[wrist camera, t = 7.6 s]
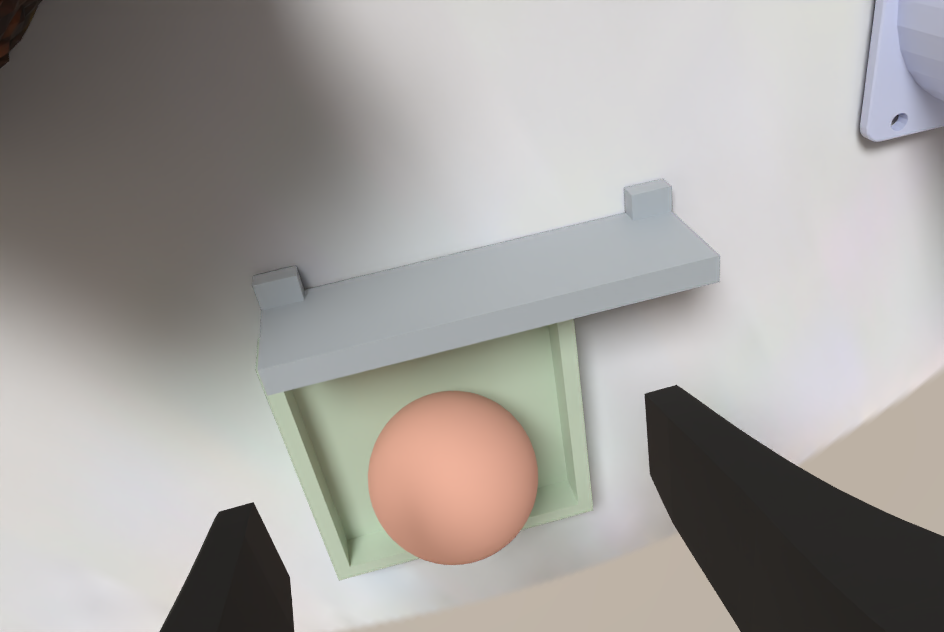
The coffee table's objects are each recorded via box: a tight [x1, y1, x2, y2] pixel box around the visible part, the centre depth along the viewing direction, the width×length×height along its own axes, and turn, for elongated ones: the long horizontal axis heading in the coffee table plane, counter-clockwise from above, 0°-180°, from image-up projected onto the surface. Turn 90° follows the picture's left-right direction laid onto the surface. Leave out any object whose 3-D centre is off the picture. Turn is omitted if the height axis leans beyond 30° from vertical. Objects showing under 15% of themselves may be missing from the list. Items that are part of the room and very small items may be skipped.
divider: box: [252, 179, 720, 396], centre depth 20 cm, size 12×2×4 cm, turn 99°
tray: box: [256, 319, 593, 580], centre depth 24 cm, size 9×9×2 cm
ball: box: [368, 391, 538, 565], centre depth 22 cm, size 5×5×5 cm
